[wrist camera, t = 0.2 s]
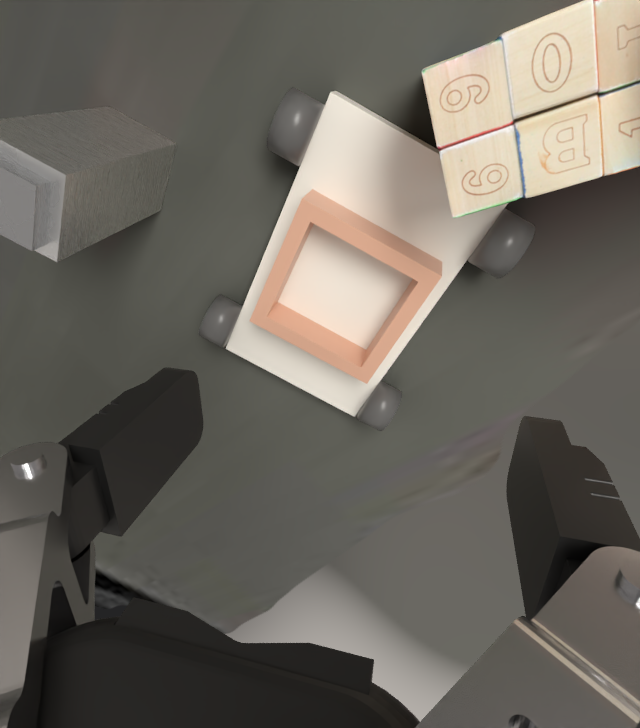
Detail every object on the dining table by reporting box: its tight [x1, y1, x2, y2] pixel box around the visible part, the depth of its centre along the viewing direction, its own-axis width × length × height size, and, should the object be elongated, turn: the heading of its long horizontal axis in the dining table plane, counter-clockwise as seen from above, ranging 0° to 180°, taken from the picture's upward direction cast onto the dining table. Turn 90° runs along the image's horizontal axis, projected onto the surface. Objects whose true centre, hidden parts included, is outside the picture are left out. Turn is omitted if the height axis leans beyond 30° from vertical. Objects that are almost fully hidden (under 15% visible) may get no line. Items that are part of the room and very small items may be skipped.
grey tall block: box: [0, 106, 177, 262], centre depth 27 cm, size 5×5×12 cm
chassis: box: [199, 87, 535, 431], centre depth 31 cm, size 20×16×4 cm
